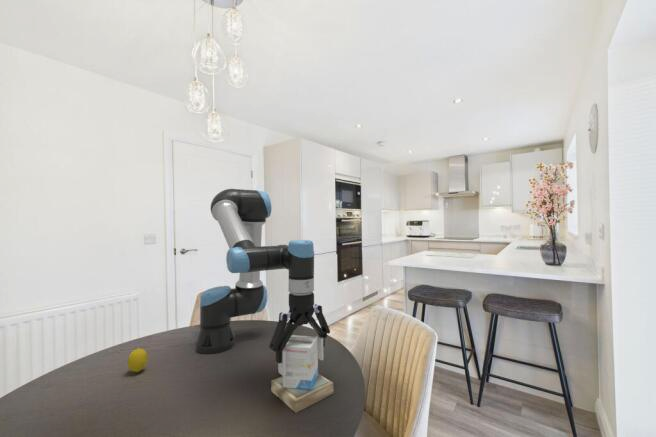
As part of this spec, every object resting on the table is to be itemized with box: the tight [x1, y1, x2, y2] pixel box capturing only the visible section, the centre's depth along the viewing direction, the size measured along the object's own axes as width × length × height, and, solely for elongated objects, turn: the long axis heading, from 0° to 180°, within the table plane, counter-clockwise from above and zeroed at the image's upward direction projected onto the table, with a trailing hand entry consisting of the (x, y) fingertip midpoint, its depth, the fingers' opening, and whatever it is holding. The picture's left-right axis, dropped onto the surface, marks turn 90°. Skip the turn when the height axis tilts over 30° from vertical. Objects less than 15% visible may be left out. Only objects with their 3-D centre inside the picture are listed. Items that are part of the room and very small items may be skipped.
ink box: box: [282, 334, 319, 390], centre depth 82 cm, size 9×8×13 cm
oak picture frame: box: [270, 373, 334, 414], centre depth 82 cm, size 13×13×3 cm
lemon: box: [127, 347, 148, 373], centre depth 94 cm, size 6×6×8 cm
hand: (301, 365), depth 82 cm, fingers open, 13 cm apart
